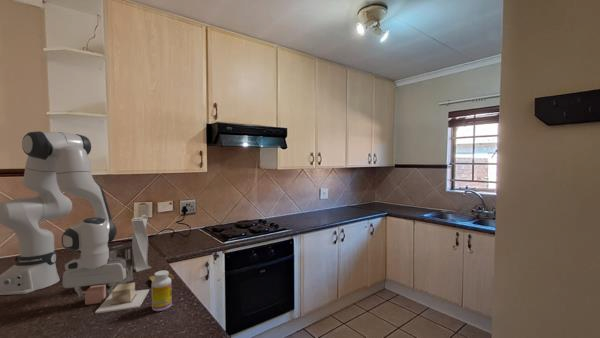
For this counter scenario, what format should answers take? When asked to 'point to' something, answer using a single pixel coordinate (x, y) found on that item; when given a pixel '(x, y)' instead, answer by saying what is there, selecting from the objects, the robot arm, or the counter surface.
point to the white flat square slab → (134, 303)
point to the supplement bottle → (161, 291)
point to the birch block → (123, 293)
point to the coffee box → (126, 254)
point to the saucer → (168, 276)
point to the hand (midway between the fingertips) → (96, 295)
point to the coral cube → (95, 294)
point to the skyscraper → (140, 244)
